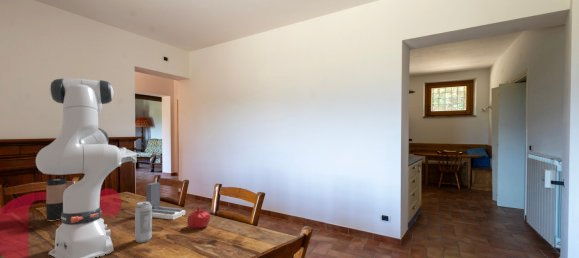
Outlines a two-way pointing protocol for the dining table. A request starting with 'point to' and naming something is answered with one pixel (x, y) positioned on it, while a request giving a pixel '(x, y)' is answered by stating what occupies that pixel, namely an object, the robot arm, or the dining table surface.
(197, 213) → the pomegranate
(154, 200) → the fader tab
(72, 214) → the robot arm
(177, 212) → the fader board
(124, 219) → the dining table surface
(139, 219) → the energy drink can
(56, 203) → the travel mug
